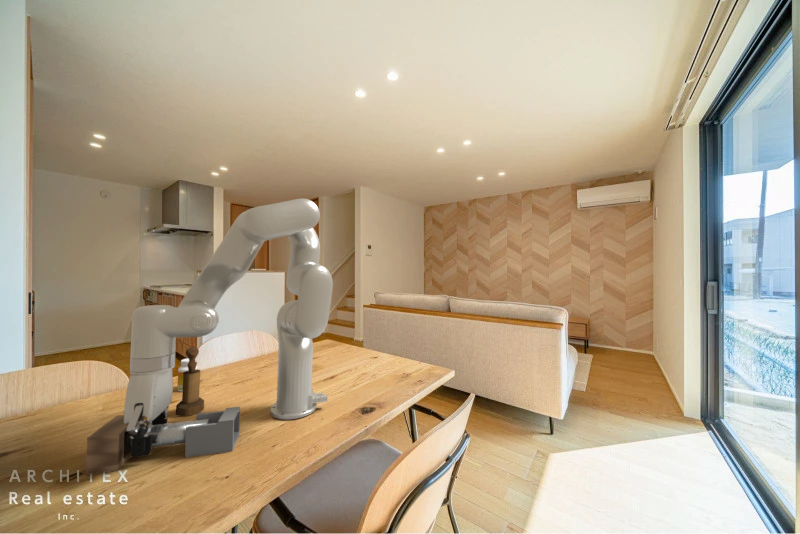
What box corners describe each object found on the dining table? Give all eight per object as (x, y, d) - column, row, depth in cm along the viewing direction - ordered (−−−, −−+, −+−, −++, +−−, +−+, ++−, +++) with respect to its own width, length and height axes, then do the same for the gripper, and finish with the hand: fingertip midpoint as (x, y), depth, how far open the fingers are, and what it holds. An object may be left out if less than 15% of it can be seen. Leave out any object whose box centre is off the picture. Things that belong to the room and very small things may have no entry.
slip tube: (210, 434, 69) (211, 413, 69) (203, 447, 64) (203, 423, 64) (120, 445, 64) (121, 422, 64) (104, 460, 59) (105, 434, 59)
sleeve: (239, 435, 71) (240, 406, 71) (232, 451, 65) (233, 419, 65) (196, 440, 68) (197, 410, 69) (184, 457, 62) (186, 425, 62)
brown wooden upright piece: (209, 408, 84) (211, 345, 85) (186, 418, 78) (189, 351, 79) (193, 404, 86) (195, 343, 87) (169, 414, 80) (172, 348, 81)
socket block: (142, 444, 66) (144, 413, 66) (117, 470, 58) (119, 434, 58) (115, 447, 65) (116, 415, 65) (85, 474, 56) (87, 437, 56)
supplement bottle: (189, 392, 95) (190, 362, 95) (172, 391, 95) (174, 361, 95) (200, 385, 100) (201, 357, 100) (185, 385, 100) (186, 357, 100)
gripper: (153, 352, 71) (150, 427, 70) (105, 377, 54) (100, 476, 54) (189, 351, 73) (186, 423, 72) (153, 374, 56) (149, 469, 56)
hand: (150, 445), depth 63 cm, fingers open, 6 cm apart
